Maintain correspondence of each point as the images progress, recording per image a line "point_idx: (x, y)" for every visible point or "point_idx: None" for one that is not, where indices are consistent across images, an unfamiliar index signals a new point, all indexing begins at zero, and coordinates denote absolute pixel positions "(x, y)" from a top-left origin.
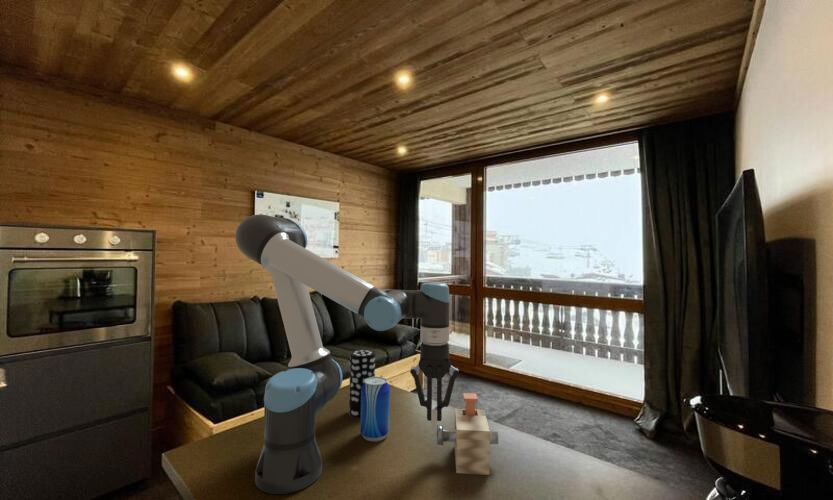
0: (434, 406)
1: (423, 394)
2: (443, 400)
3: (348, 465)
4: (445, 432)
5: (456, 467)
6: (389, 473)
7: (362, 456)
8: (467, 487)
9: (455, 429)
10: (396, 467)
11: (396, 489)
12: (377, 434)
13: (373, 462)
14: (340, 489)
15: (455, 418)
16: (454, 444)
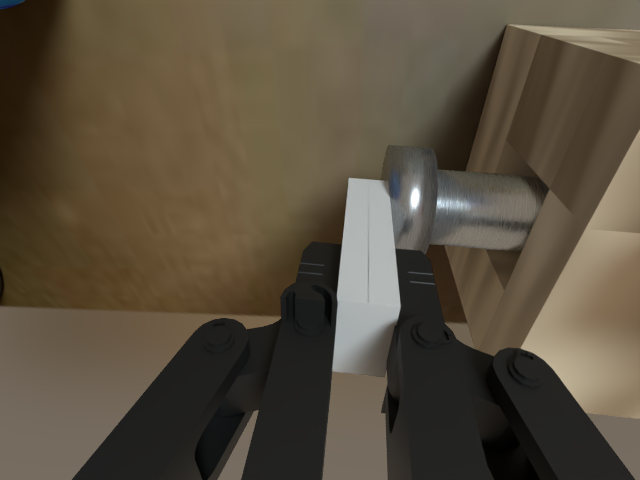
0: (366, 324)
1: (200, 434)
2: (483, 403)
3: (36, 201)
4: (437, 243)
5: (449, 258)
6: (198, 243)
7: (48, 142)
8: (461, 306)
9: (520, 225)
10: (213, 212)
11: (241, 306)
12: (1, 5)
13: (114, 183)
14: (90, 301)
15: (563, 231)
16: (510, 33)
